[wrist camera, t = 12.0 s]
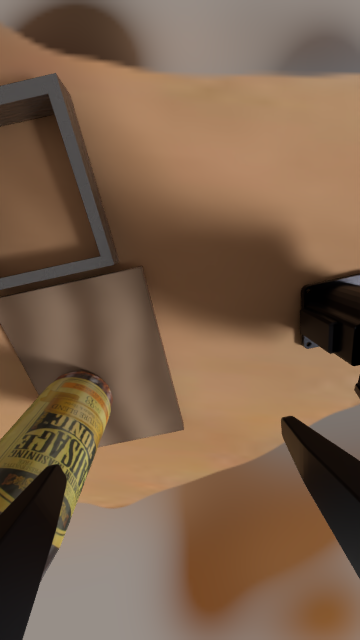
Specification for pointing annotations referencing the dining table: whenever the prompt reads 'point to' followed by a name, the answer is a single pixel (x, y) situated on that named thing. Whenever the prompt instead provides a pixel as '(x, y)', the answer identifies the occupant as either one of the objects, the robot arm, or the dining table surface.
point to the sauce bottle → (56, 441)
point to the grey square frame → (55, 99)
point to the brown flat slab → (99, 347)
